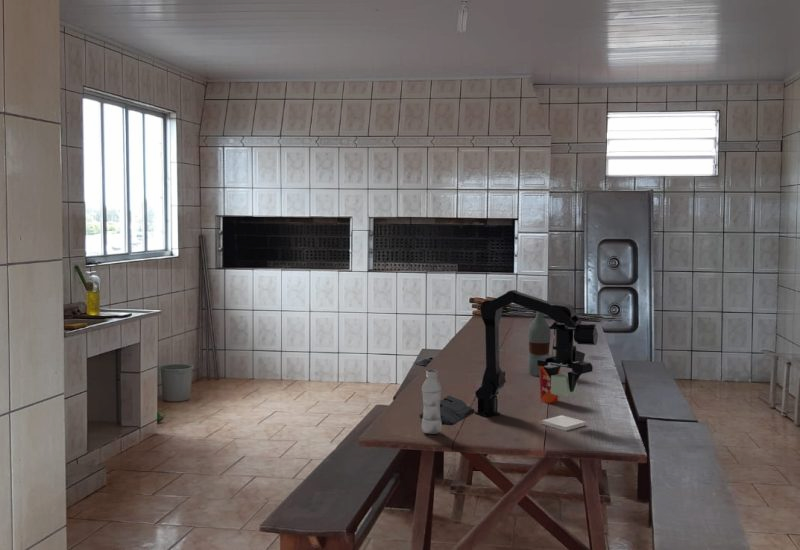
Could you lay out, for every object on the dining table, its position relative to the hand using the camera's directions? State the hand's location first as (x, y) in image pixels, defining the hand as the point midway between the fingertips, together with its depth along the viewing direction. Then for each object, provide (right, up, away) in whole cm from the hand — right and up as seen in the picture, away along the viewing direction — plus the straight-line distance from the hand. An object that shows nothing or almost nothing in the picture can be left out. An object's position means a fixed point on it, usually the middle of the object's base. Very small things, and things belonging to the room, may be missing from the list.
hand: (564, 390), depth 267 cm
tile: (0, -11, 0) cm, 11 cm away
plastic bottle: (-44, -13, -10) cm, 46 cm away
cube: (0, -1, 0) cm, 1 cm away
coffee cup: (+1, -9, +31) cm, 32 cm away
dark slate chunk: (-38, -11, +12) cm, 42 cm away
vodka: (+4, -4, +75) cm, 75 cm away
